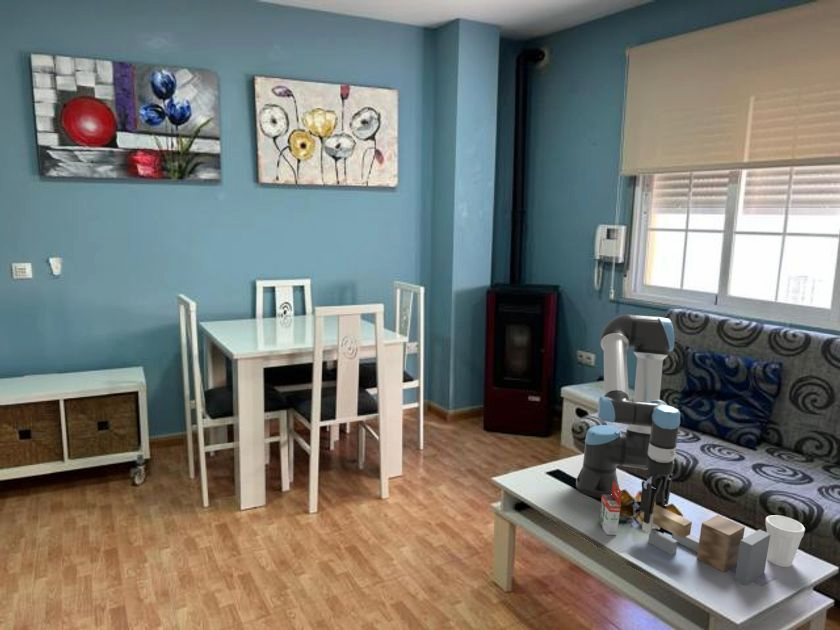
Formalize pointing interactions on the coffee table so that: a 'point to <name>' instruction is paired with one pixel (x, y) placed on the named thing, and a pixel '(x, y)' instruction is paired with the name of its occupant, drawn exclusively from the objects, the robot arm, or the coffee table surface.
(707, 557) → the block
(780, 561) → the cup
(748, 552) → the base
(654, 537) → the pedestal
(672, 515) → the bar
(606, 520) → the ink box
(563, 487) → the coffee table surface
